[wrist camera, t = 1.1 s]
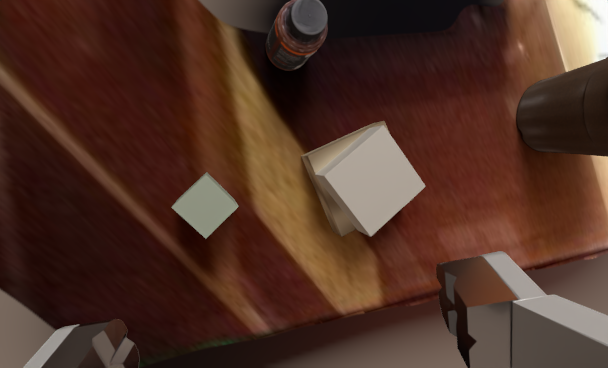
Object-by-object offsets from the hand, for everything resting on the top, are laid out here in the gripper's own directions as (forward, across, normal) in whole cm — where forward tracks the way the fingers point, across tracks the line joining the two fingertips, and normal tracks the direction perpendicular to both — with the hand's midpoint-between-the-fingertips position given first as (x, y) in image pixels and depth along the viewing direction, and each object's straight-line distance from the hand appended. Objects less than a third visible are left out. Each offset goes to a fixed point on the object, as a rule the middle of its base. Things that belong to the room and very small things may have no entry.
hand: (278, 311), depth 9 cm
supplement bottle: (+44, +1, -6) cm, 44 cm away
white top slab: (+38, -6, +12) cm, 40 cm away
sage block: (+35, +15, +10) cm, 39 cm away
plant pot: (+53, -39, +14) cm, 67 cm away
